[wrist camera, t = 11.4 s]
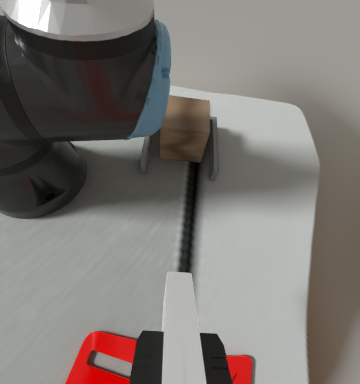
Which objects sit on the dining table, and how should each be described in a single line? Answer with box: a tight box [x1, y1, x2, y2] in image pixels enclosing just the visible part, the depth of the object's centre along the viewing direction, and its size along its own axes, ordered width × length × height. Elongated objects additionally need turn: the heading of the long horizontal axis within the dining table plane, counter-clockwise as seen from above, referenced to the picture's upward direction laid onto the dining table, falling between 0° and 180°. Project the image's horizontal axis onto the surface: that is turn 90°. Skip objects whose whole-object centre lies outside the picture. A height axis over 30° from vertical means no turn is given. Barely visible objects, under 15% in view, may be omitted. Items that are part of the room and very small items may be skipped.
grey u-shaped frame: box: [140, 117, 219, 180], centre depth 40 cm, size 14×14×3 cm
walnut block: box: [160, 95, 210, 163], centre depth 39 cm, size 8×8×8 cm
